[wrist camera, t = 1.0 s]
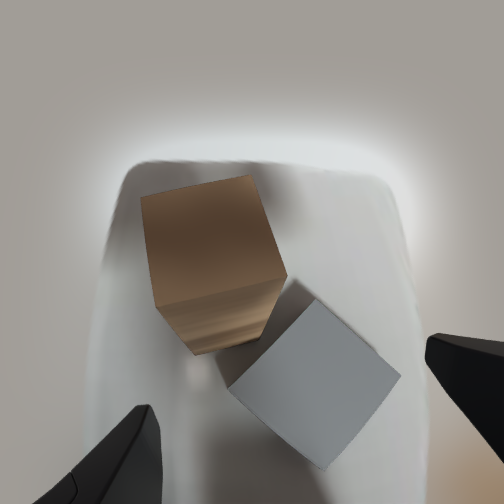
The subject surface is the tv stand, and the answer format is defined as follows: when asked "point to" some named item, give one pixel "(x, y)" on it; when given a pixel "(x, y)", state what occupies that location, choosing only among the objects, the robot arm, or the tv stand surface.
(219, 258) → the walnut block
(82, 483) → the robot arm
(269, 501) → the tv stand surface
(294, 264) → the tv stand surface
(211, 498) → the tv stand surface
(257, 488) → the tv stand surface
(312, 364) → the grey block
